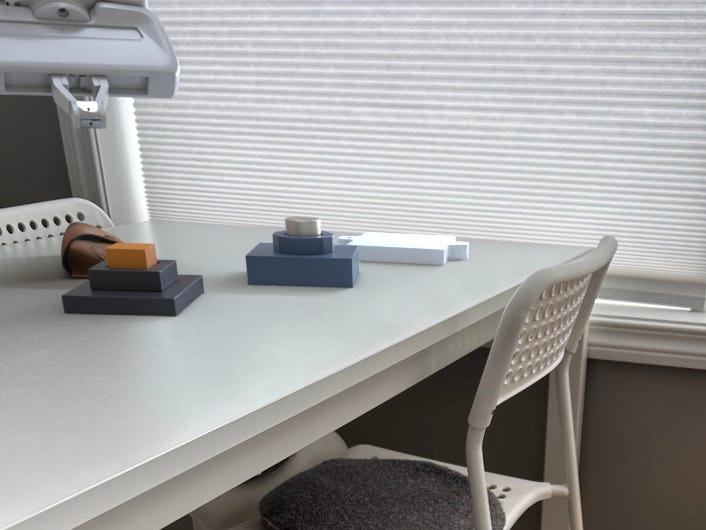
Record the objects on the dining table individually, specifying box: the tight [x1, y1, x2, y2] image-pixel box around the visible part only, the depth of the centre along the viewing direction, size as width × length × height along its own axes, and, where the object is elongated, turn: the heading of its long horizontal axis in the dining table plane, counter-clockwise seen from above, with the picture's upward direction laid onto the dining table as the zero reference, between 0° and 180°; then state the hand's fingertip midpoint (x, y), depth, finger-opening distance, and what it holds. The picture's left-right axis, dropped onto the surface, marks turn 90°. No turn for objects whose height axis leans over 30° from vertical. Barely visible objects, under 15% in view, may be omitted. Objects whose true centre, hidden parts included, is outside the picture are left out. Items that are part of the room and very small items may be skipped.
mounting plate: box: [337, 231, 470, 266], centre depth 130 cm, size 18×13×2 cm
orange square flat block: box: [105, 242, 158, 269], centre depth 89 cm, size 4×4×2 cm
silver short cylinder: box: [284, 216, 321, 237], centre depth 110 cm, size 4×4×2 cm
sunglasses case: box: [60, 221, 126, 279], centre depth 115 cm, size 18×7×7 cm
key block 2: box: [244, 229, 360, 289], centre depth 112 cm, size 12×10×5 cm
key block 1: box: [61, 259, 205, 317], centre depth 91 cm, size 10×12×5 cm
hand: (90, 123), depth 92 cm, fingers closed
